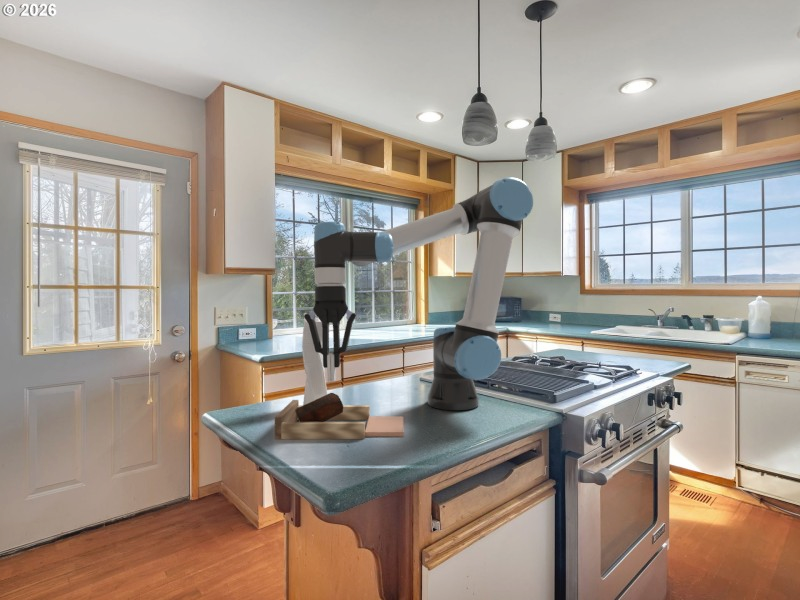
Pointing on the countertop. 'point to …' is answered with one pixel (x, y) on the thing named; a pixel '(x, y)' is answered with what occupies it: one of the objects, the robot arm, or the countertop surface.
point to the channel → (322, 424)
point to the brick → (320, 409)
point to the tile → (385, 426)
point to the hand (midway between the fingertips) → (331, 380)
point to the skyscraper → (313, 365)
